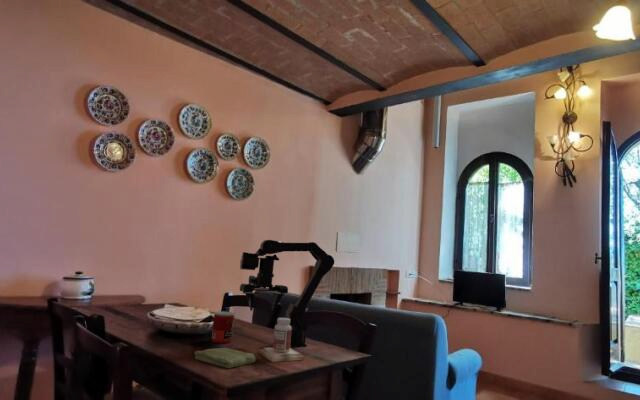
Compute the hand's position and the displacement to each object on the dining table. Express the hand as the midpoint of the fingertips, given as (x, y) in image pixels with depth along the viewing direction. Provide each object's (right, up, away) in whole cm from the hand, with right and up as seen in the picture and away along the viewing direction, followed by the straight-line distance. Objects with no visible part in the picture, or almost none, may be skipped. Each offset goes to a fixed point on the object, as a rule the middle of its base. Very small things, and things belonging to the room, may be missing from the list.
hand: (262, 310), depth 167 cm
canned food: (-16, -12, -2) cm, 20 cm away
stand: (+9, -12, -18) cm, 23 cm away
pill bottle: (+9, -10, -17) cm, 22 cm away
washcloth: (-9, -10, -29) cm, 31 cm away
